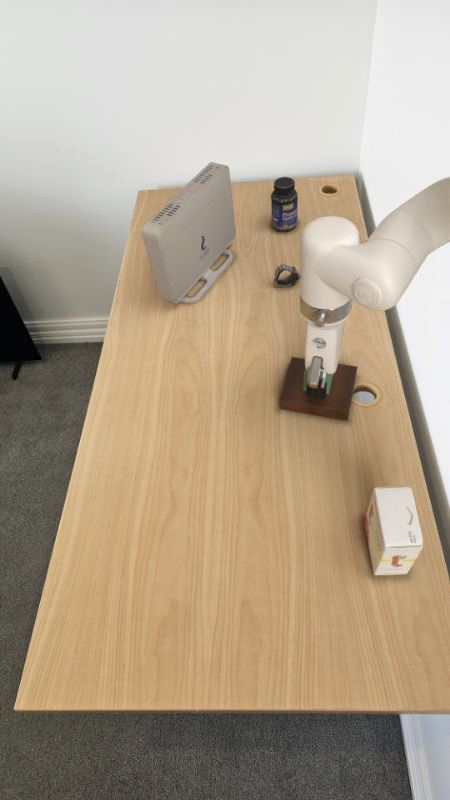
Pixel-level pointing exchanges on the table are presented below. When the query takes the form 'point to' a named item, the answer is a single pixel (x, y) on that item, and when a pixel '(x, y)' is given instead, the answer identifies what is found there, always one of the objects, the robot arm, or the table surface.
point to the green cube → (328, 378)
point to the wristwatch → (291, 279)
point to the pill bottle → (284, 204)
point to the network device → (192, 235)
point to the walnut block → (329, 407)
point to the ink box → (393, 530)
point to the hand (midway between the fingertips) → (321, 374)
